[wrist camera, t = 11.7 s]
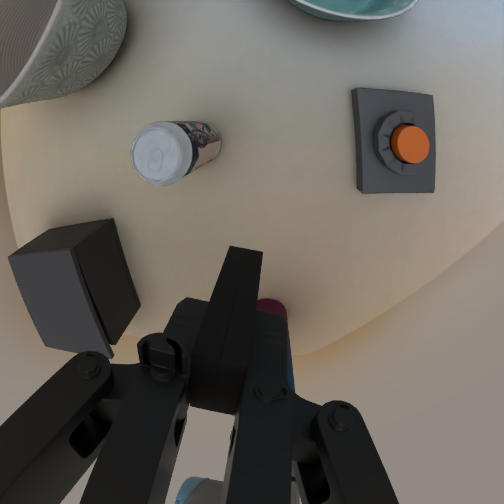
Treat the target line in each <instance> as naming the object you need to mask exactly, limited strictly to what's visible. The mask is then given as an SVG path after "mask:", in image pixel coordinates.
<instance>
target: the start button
mask: <svg viewBox="0 0 504 504" xmlns="http://www.w3.org/2000/svg"><path fill="white" fill-rule="evenodd" d="M391 147H392V150H393V152H394V154H395V155H396V156H397V157H398V158H400V159H401V160H404V161H407V162H409V163H419V162H421V161H423V160H424V159H425V158H426V157H427V155H428V152H429V140H428V137H427V135H426V134H425V132H424V131H423V130H422V129H420V128H419V127H416V126H407V125H403V126H400V127H398V128H396V129H395V131H394V132H393V134H392V137H391Z"/></svg>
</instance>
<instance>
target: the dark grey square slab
mask: <svg viewBox="0 0 504 504" xmlns="http://www.w3.org/2000/svg"><path fill="white" fill-rule="evenodd" d="M8 259H9V262H10V265H11V268H12V271H13V274H14V277H15V280H16V282H17V285H18V287H19V290H20V293H21V295H22V298H23V300H24V302H25V305H26V307H27V309H28V312H29V314H30V316H31V318H32V320H33V323H34V325H35V327H36V329H37V331H38V333H39V335H40V337H41V338H42V341H43V343H44V344H45V346H46V347H51V348H55V349H60V350H64V351H69V352H74V353H80V352H85V351H97V352H99V353H102V354H104V355H105V356H106V357H107V358H109V359H112V358H113V357H114V353H113V351H112V349H111V347H110V345H109V342H108V340H107V338H106V336H105V333H104V331H103V329H102V326H101V324H100V322H99V319H98V317H97V314H96V312H95V309H94V307H93V304H92V301H91V299H90V296H89V293H88V290H87V288H86V285H85V282H84V279H83V276H82V273H81V270H80V267H79V263H78V260H77V257H76V253H75V250H74V247H70V248H62V249H53V250H45V251H37V252H29V253H21V254H13V255H10V256H8Z"/></svg>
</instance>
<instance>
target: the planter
mask: <svg viewBox="0 0 504 504" xmlns="http://www.w3.org/2000/svg"><path fill="white" fill-rule="evenodd" d="M126 26H127V12H126V7H125V4H124V1H123V0H0V109H1V108H5V107H9V106H14V105H19V104H24V103H29V102H35V101H41V100H48V99H54V98H59V97H62V96H65V95H68V94H71V93H73V92H75V91H77V90H79V89H81V88H83V87H85V86H86V85H88V84H89V83H90V82H92V81H93V80H95V79H96V78H97V77H98V76H99V75H100V74H101V73H102V72H103V71H104V70H105V69H106V68H107V66H108V65H109V64H110V63H111V61H112V60H113V58H114V57H115V55H116V53H117V52H118V50H119V48H120V46H121V43H122V41H123V38H124V35H125V31H126Z"/></svg>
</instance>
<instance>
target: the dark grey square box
mask: <svg viewBox="0 0 504 504" xmlns="http://www.w3.org/2000/svg"><path fill="white" fill-rule="evenodd" d="M70 247H74V250H75V253H76V257H77V260H78V263H79V267H80V270H81V273H82V276H83V279H84V282H85V285H86V288H87V290H88V293H89V296H90V299H91V301H92V304H93V307H94V309H95V312H96V314H97V317H98V319H99V322H100V324H101V326H102V329H103V331H104V333H105V336H106V338H107V340H108V342H109V344H111V345H116V344H117V342H118V340H119V339H120V337H121V336H122V334H123V332H124V331H125V329H126V328H127V326H128V325H129V323H130V321H131V320H132V318H133V317H134V315H135V314H136V312H137V311H138V309H139V308H140V306H141V305H140V302H139V299H138V296H137V294H136V291H135V288H134V285H133V282H132V279H131V276H130V273H129V270H128V267H127V264H126V261H125V257H124V254H123V251H122V247H121V244H120V241H119V237H118V234H117V230H116V226H115V223H114V219H113V218H111V219H105V220H99V221H92V222H87V223H81V224H75V225H69V226H64V227H58V228H53V229H48V230H47V231H45V232H44V233H42V234H41V235H39V236H38V237H36V238H35V239H33V240H32V241H30V242H29V243H27V244H26V245H24V246H23V247H21V248H20V249H18V250H17V251H16V252H14V253H13V254H21V253H29V252H37V251H45V250H53V249H62V248H70ZM13 254H12V255H13Z"/></svg>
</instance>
